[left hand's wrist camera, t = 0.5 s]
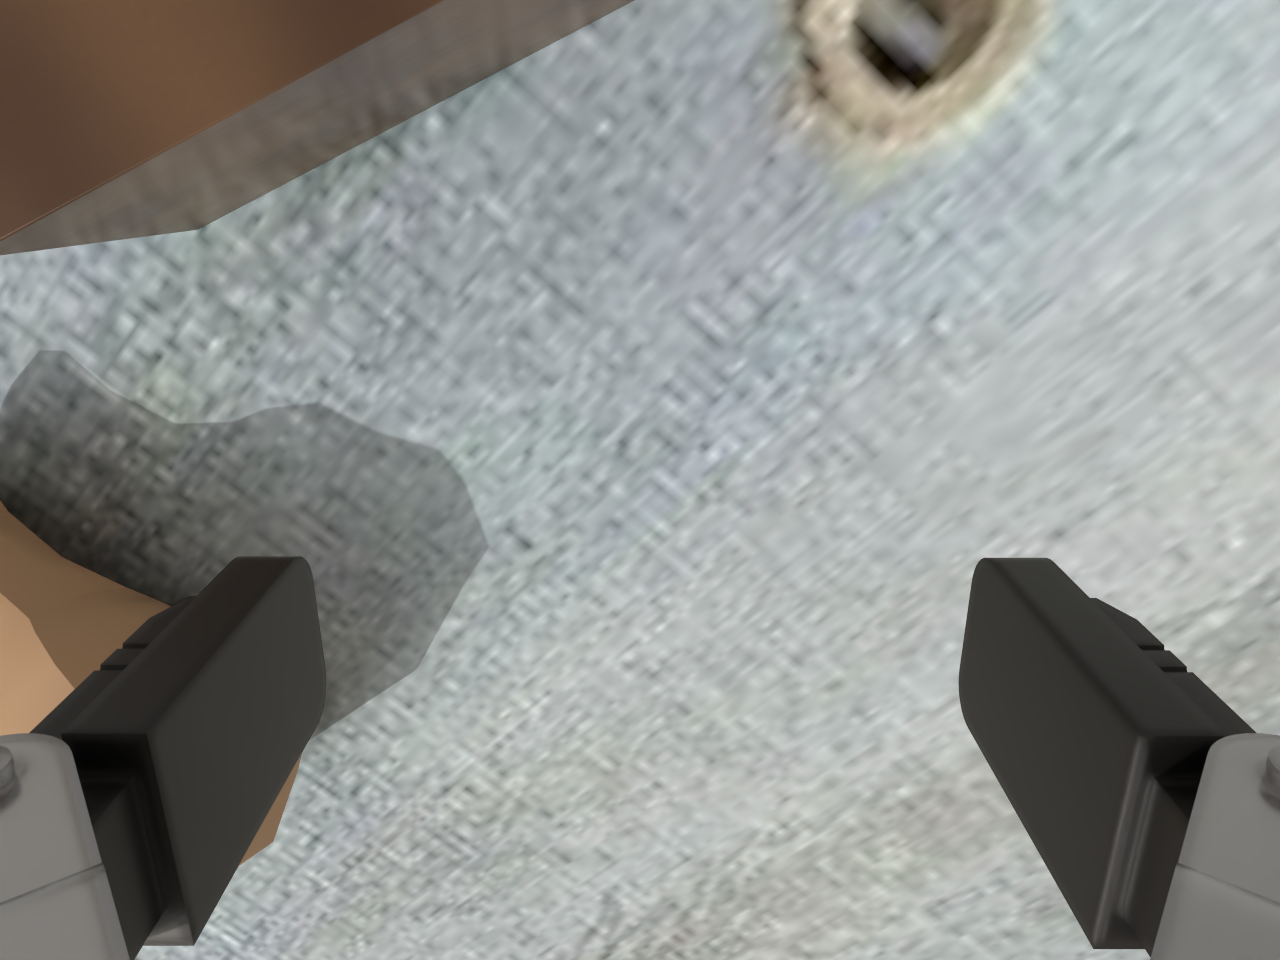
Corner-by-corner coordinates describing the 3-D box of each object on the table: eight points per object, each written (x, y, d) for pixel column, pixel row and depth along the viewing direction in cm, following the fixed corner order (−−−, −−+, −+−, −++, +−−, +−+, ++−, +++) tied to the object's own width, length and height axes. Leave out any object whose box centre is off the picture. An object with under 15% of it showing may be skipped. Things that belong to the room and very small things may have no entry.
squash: (258, 838, 43) (116, 1002, 35) (-65, 542, 41) (-295, 643, 33) (387, 724, 39) (261, 880, 31) (34, 388, 37) (-203, 459, 29)
